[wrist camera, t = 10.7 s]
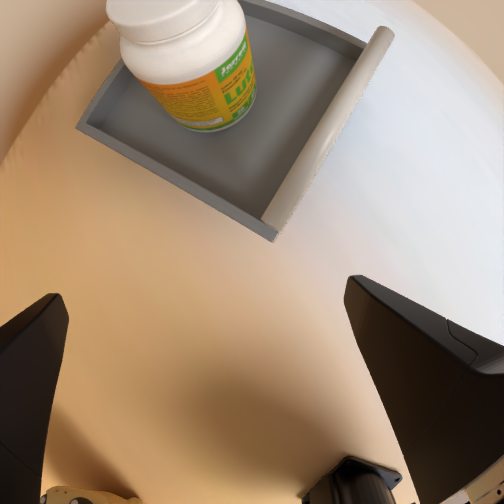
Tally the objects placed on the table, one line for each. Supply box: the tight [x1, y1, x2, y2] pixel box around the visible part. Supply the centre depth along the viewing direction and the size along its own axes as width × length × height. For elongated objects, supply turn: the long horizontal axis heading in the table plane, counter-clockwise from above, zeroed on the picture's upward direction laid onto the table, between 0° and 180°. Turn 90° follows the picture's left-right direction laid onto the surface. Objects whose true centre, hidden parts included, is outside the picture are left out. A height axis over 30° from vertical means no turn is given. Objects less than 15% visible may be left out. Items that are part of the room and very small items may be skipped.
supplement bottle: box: [106, 0, 256, 133], centre depth 12 cm, size 5×5×10 cm
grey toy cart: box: [75, 0, 395, 243], centre depth 16 cm, size 14×13×8 cm
